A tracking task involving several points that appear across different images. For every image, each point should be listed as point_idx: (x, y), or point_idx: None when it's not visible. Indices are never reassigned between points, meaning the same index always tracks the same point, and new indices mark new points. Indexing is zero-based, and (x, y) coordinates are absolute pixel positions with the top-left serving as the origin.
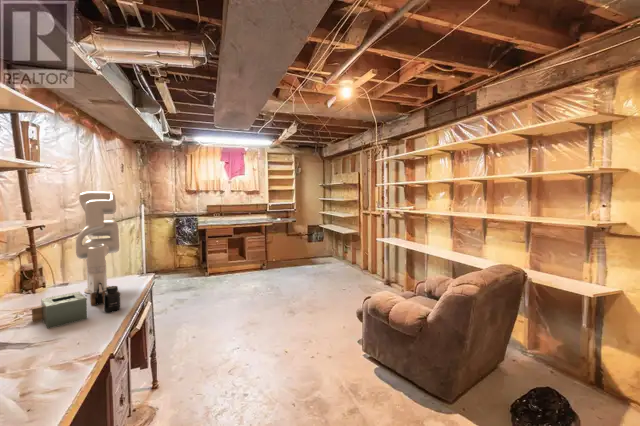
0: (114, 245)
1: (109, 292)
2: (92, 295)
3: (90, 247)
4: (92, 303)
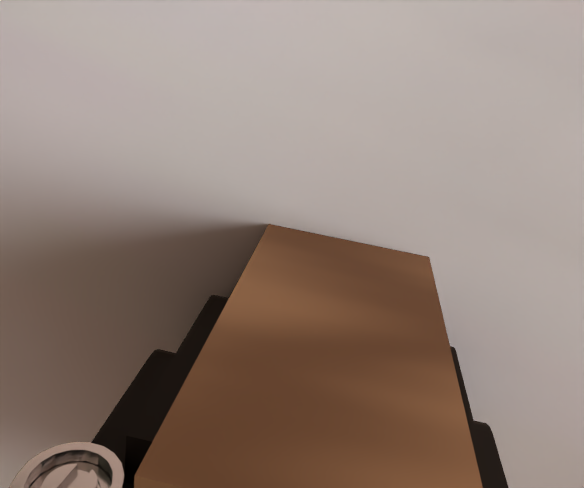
0: None
1: None
2: (163, 457)
3: None
4: (253, 258)
